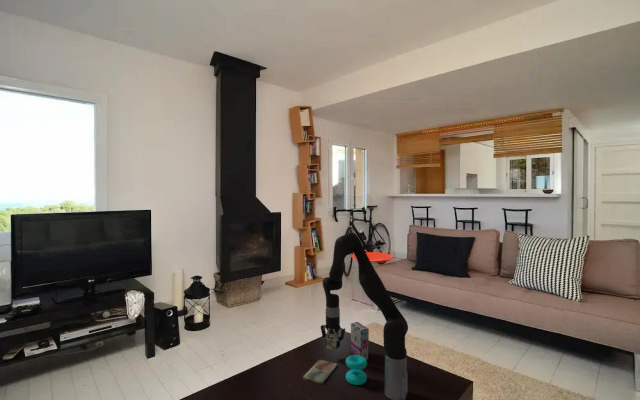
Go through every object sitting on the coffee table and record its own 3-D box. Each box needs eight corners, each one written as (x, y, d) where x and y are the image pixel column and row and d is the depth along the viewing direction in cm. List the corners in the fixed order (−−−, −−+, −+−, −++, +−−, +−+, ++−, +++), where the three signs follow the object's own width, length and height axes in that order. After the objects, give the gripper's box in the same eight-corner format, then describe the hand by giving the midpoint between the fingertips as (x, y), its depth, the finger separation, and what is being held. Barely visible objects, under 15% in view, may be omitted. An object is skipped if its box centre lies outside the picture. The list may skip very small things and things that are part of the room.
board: (337, 365, 162) (337, 363, 162) (322, 384, 146) (322, 381, 146) (319, 361, 167) (319, 359, 167) (303, 378, 150) (303, 376, 150)
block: (339, 346, 170) (339, 337, 170) (335, 350, 166) (335, 341, 166) (330, 344, 172) (330, 335, 172) (326, 348, 168) (326, 339, 168)
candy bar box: (369, 359, 169) (369, 328, 169) (361, 361, 167) (361, 330, 167) (357, 350, 179) (358, 321, 179) (350, 352, 177) (350, 322, 177)
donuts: (341, 360, 148) (351, 351, 156) (341, 381, 148) (351, 372, 156) (361, 366, 143) (370, 357, 151) (361, 388, 143) (370, 378, 151)
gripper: (347, 314, 169) (348, 346, 169) (323, 310, 176) (323, 341, 176) (342, 318, 163) (342, 352, 163) (317, 314, 169) (317, 346, 169)
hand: (332, 346), depth 169 cm, fingers closed on block, 5 cm apart
